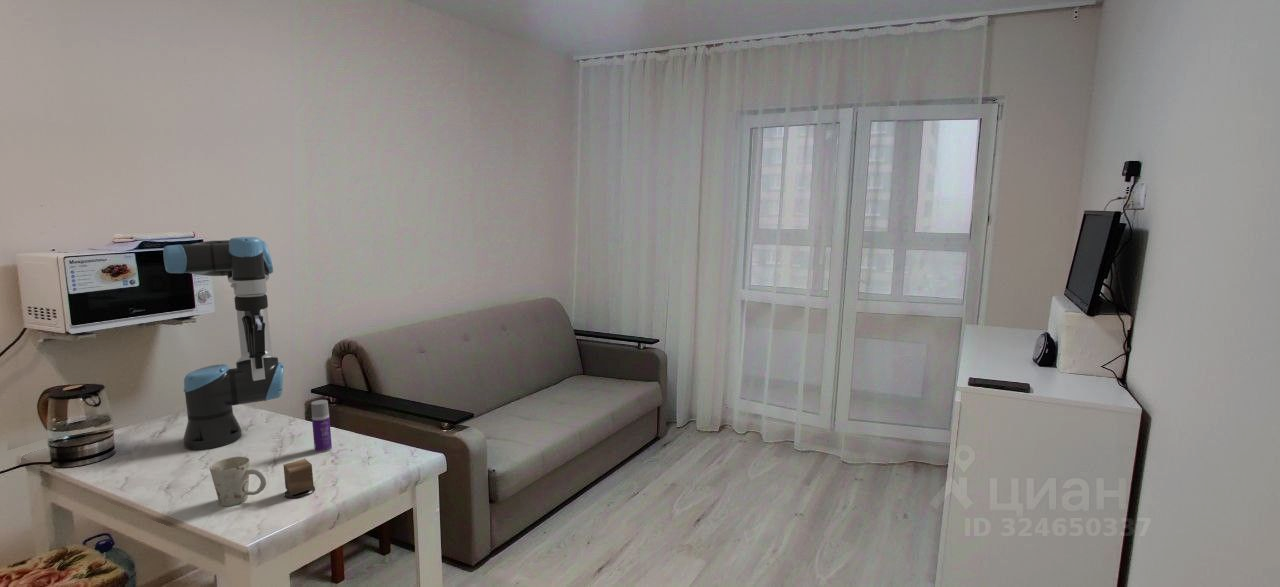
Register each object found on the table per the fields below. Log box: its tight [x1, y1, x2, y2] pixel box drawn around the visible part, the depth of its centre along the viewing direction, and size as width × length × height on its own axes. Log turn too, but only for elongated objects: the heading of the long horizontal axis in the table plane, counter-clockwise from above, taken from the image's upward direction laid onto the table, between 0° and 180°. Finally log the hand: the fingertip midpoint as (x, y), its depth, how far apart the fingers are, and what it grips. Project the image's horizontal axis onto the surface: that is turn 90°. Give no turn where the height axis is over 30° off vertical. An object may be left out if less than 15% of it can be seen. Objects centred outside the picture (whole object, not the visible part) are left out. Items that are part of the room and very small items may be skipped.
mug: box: [209, 456, 267, 507], centre depth 156 cm, size 8×13×10 cm, turn 95°
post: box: [284, 486, 316, 499], centre depth 160 cm, size 7×7×7 cm
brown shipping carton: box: [283, 458, 315, 495], centre depth 160 cm, size 5×5×7 cm
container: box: [310, 399, 333, 453], centre depth 187 cm, size 5×5×15 cm
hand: (259, 379), depth 170 cm, fingers closed
